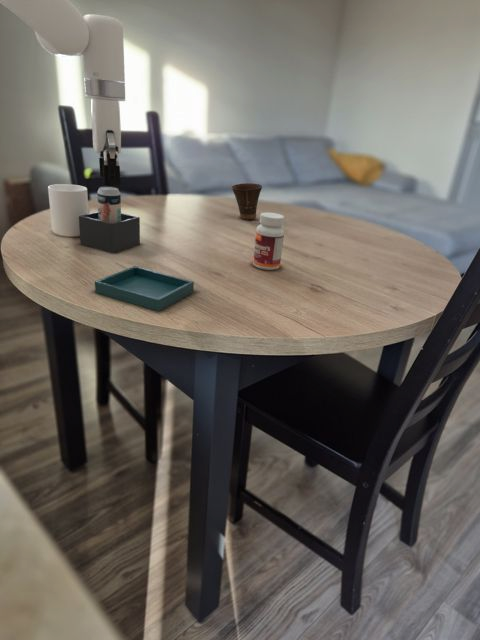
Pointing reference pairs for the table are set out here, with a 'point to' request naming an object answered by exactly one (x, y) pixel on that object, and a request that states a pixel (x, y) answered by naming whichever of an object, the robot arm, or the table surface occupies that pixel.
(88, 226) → the bin
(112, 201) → the beer can
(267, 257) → the pill bottle
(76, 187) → the mug
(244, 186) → the cup
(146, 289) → the tray
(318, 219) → the table surface
